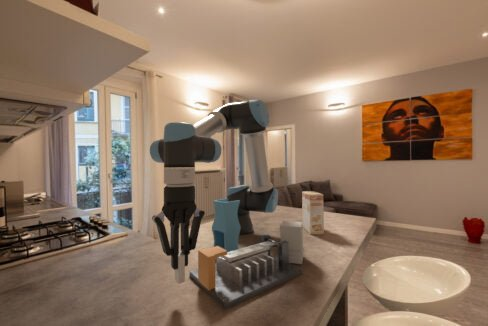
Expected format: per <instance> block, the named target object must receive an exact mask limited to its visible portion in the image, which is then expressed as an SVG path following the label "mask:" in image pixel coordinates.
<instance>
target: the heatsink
mask: <svg viewBox="0 0 488 326" xmlns="http://www.w3.org/2000/svg"><path fill="white" fill-rule="evenodd" d="M267 239H271V235H269V234H264V235H261V236H260V243H262V242H266V240H267ZM277 242H278V247H277V249H278V253H277V254H278V256H274V255H272V254H271V249H269V250H266V251H263V252H259V253H256V254H253V255H250V256H247V257H244V258H240V259H237V260H234V261H231V262H228V261H227V260H225V259H224V258H222V256H221V257H217V258H216V262H215V288H213V289H211V290H208V289H207V288H206V287H204V286H203V285H202V284H201V283H200V282H199V281H198V268H196V269H193V270H189V277H190V278H191V279H192V280H193V281H194V282H195V283H196V284H197V285H198V286H199V287H200V288H202V290H203V291H204V292H206V293H207V295H209V297H211V298H212V299H213V300H214V301H215V302H216V303H217V304H218V305H219V306H220V307H221V308H222V309H223V310H224V311H226V310H228V309H230V308H233V307H234V306H237V305H238V304H239V305H240V304H241V303H243V302H245V301H248V300H250V299H253V297H256V296H258V295H260V294H262V293H264V292H266V291H268V290H270V289H273V288H275V287H277V286H279V285H281V284H283V283H285V282H287V281H289V280H292V279H294V278H296V277H298V276H300V275H302V274H303V268H302V267H299V266H297V265H296V264H294V263H289V255H288V242H287V241H282V242H280V241H277Z"/></svg>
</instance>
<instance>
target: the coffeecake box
mask: <svg viewBox="0 0 488 326" xmlns="http://www.w3.org/2000/svg"><path fill="white" fill-rule="evenodd" d="M301 196H302V197H301V202H302V204H301V205H302V207H301V212H302V216H301V217H302V220H301V222H302V226H303V228H304V229H305V230H306V232H307V233H308V234H309V235H320V236H321V235H325V227H324V224H325V222H324V221H325V220H324V218H325V217H324V214H325V212H324V211H325V210H324V209H325V208H324V194H323V193H320V192H317V191H313V190H309V191H308V190H307V191H306V190H305V191H301Z"/></svg>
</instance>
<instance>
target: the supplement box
mask: <svg viewBox="0 0 488 326" xmlns="http://www.w3.org/2000/svg"><path fill="white" fill-rule="evenodd" d="M303 228H304V227H303V226H302V221H289V220H287V221H286V220H283V221H282V223H281V224H280V225H279V231H280V234H279V236H280V240H279V242H282V241H287V242H288V255H289V263H290V264H295V265H296V264H297V265H303V259H304V234H303Z"/></svg>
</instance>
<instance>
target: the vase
mask: <svg viewBox="0 0 488 326" xmlns="http://www.w3.org/2000/svg"><path fill="white" fill-rule="evenodd" d="M212 203H213V206H214V219H213V222H212V225H211V231H212V236H213V246H212V247H215V246H219V247H221V248H223V249H225V250H226V251H227V252H230V251H234V250H237V249H240V248H239V238H240V237H239V236H240V234H239V233H240V229H241V226H240V224H239V221H238V215H237V212H238V206H239V203H240V200H237V201H231V202H228V199H227V198H221V199H214V200H213V202H212Z"/></svg>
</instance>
